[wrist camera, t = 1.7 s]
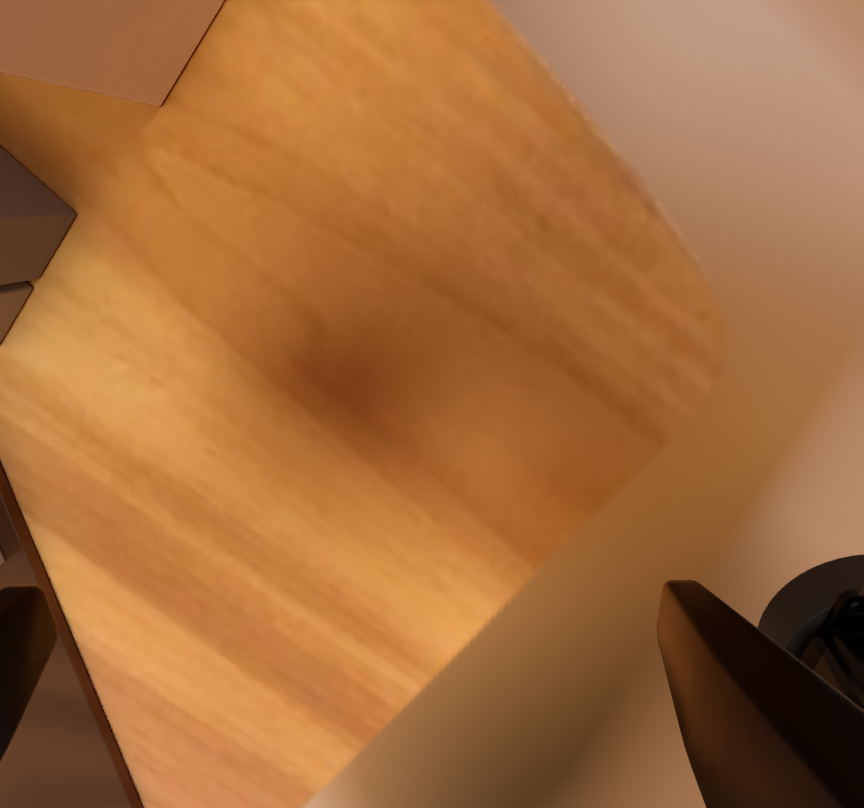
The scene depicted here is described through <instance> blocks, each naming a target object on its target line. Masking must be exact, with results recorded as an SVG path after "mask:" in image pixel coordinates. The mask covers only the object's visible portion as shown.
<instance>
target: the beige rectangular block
mask: <svg viewBox="0 0 864 808" xmlns="http://www.w3.org/2000/svg"><path fill="white" fill-rule="evenodd" d="M223 2H224V0H0V73H3V74H8V75H12V76H17V77H22V78H27V79H31V80H36V81H41V82H45V83H50V84H55V85H59V86H64V87H69V88H74V89H78V90H83V91H88V92H92V93H97V94H102V95H107V96H111V97H116V98H121V99H125V100H130V101H135V102H139V103H144V104H149V105H154V106H158V107H159V106H161V104H162V103H163V101H164V100H165V98H166V96H167V95H168V93H169V91H170V90H171V88H172V86H173V85H174V83H175V81H176V80H177V78H178V76H179V75H180V73H181V71H182V70H183V68H184V66H185V65H186V63H187V61H188V60H189V58H190V56H191V55H192V53H193V51H194V50H195V48H196V46H197V45H198V43H199V41H200V40H201V38H202V36H203V35H204V33H205V31H206V30H207V28H208V27H209V25H210V23H211V22H212V20H213V18H214V17H215V15H216V13H217V12H218V10H219V8H220V7H221V5H222V3H223Z"/></svg>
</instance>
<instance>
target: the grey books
mask: <svg viewBox="0 0 864 808" xmlns="http://www.w3.org/2000/svg"><path fill="white" fill-rule="evenodd" d="M75 216H76V212H74V211H73V210H72V209H71V208H70V207H69V206H68V205H67V204H65V203H64V202H63V201H62V200H61V199H60V198H59V197H57V196H56V195H55V194H54V193H53V192H52V191H51V190H50V189H48V188H47V187H46V186H45V185H44V184H43V183H42V182H41V181H39V180H38V179H37V178H36V177H35V176H34V175H33V174H31V173H30V172H29V171H28V170H27V169H26V168H25V167H24V166H22V165H21V164H20V163H19V162H18V161H17V160H16V159H15V158H13V157H12V156H11V155H10V154H9V153H8V152H7V151H5V150H4V149H3V148H2V147H1V146H0V343H1V341H2V339H3V338H4V336H5V334H6V333H7V331H8V329H9V327H10V326H11V324H12V322H13V321H14V319H15V317H16V316H17V314H18V312H19V310H20V309H21V307H22V305H23V304H24V302H25V300H26V299H27V297H28V295H29V294H30V292H31V290H32V288H31V286H29V285H28V284H27V283H26V282H25V281H27V280H32V279H38V278H39V277H40V275H41V274H42V272H43V270H44V269H45V267H46V265H47V263H48V262H49V260H50V258H51V257H52V255H53V253H54V252H55V250H56V248H57V247H58V245H59V243H60V241H61V240H62V238H63V236H64V235H65V233H66V231H67V230H68V228H69V226H70V224H71V223H72V221H73V219H74V218H75Z"/></svg>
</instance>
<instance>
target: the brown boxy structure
mask: <svg viewBox="0 0 864 808" xmlns="http://www.w3.org/2000/svg"><path fill="white" fill-rule="evenodd" d="M12 585H36V586H39V587H41V588H42V589H43V590H44V592H45V594H46V597H47V600H48V602H49V605H50V608H51V610H52V613H53V616H54V618H55V621H56V624H57V627H58V638H57V642H56V645H55V647H54V650H53V652H52V654H51V656H50V658H49V661H48V663H47V665H46V667H45V669H44V671H43V674H42V676H41V678H40V680H39V682H38V685H37V687H36V689H35V691H34V693H33V696H32V698H31V700H30V702H29V704H28V706H27V709H26V711H25V713H24V715H23V717H22V720H21V722H20V724H19V726H18V728H17V730H16V732H15V734H14V737H13V739H12V741H11V743H10V745H9V747H8V749H7V750H6V752H5V754H4V756H3V758H2V760H1V762H0V808H143V807H142V805H141V803H140V800H139V798H138V795H137V793H136V791H135V788H134V786H133V783H132V781H131V778H130V776H129V774H128V771H127V769H126V766H125V764H124V762H123V759H122V757H121V754H120V752H119V749H118V747H117V745H116V742H115V740H114V737H113V735H112V733H111V730H110V728H109V725H108V723H107V721H106V718H105V716H104V713H103V711H102V708H101V706H100V704H99V701H98V699H97V696H96V694H95V692H94V689H93V687H92V684H91V682H90V679H89V677H88V675H87V672H86V670H85V667H84V665H83V663H82V660H81V658H80V655H79V653H78V651H77V648H76V646H75V643H74V641H73V638H72V636H71V634H70V631H69V629H68V626H67V624H66V622H65V619H64V617H63V614H62V612H61V609H60V607H59V605H58V602H57V600H56V597H55V595H54V593H53V590H52V588H51V585H50V583H49V580H48V578H47V576H46V573H45V571H44V568H43V566H42V564H41V561H40V559H39V556H38V554H37V552H36V549H35V547H34V544H33V542H32V539H31V537H30V535H29V532H28V530H27V527H26V525H25V523H24V520H23V518H22V515H21V513H20V510H19V508H18V506H17V503H16V501H15V498H14V496H13V494H12V491H11V489H10V486H9V484H8V482H7V479H6V477H5V474H4V472H3V469H2V467H1V465H0V590H1V589H3V588H5V587H8V586H12Z"/></svg>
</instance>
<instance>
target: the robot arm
mask: <svg viewBox="0 0 864 808" xmlns="http://www.w3.org/2000/svg"><path fill="white" fill-rule="evenodd" d="M854 602H860V603H859V604H858V605H857V606H855V607H850V605H851V604H852V603H854ZM657 636H658V642H659V647H660V651H661V654H662V658H663V662H664V667H665V671H666V675H667V678H668V682H669V687H670V691H671V695H672V699H673V703H674V707H675V711H676V715H677V719H678V723H679V727H680V731H681V735H682V738H683V742H684V746H685V749H686V752H687V755H688V758H689V761H690V764H691V767H692V770H693V773H694V775H695V778H696V781H697V783H698V786H699V789H700V792H701V794H702V797H703V800H704V802H705V805H706V808H864V591H862V590H858V589H849V590H846V591H844V592H842V593H841V594H840V595H839V596H838V597H837V599H836V601H835V603H834V604H833V606H832V608H831V610H830V611H829V613H828V615H827V617H826V618H825V620H824V622H823V624H822V625H821V627H820V629H819V631H818V632H817V634H816V636H815V637H814V638H813V639H811V640H810V642H809V644H808V646H807V647H806V649H805V651H804V653H803V654H802V656H801V658H800V660H798V659H797V658H796V657H794V656H793V655H792V654H790V653H789V652H788V651H786V650H785V649H784V648H783V647H781V646H780V645H779V644H777V643H776V642H775V641H774V640H772V639H771V638H770V637H768V636H767V635H766V634H764V633H763V632H762V631H761V630H759V629H758V628H757V627H755V626H754V625H753V624H751V623H750V622H749V621H748V620H746V619H745V618H744V617H742V616H741V615H740V614H739V613H737V612H736V611H735V610H733V609H732V608H731V607H729V606H728V605H727V604H726V603H724V602H723V601H722V600H720V599H719V598H717V597H716V596H715V595H714V594H712V593H711V592H710V591H709V590H707V589H706V588H704V587H703V586H702V585H701V584H699V583H698V582H696V581H692V580H675V581H674V580H673V581H672V580H671V581H668V582H666V583H665V584H664V587H663V590H662V596H661V603H660V609H659V616H658V623H657ZM57 638H58V627H57V624H56V621H55V618H54V616H53V613H52V610H51V608H50V605H49V602H48V600H47V597H46V594H45V592H44V590H43V589H42V588H41V587H39V586H36V585H12V586H8V587H5V588H3V589H1V590H0V762H1V760H2V758H3V756H4V754H5V752H6V750H7V749H8V747H9V745H10V743H11V741H12V739H13V737H14V734H15V732H16V730H17V728H18V726H19V724H20V722H21V720H22V717H23V715H24V713H25V711H26V709H27V706H28V704H29V702H30V700H31V698H32V696H33V693H34V691H35V689H36V687H37V685H38V682H39V680H40V678H41V676H42V674H43V671H44V669H45V667H46V665H47V663H48V661H49V658H50V656H51V654H52V652H53V650H54V647H55V645H56V642H57Z"/></svg>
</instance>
